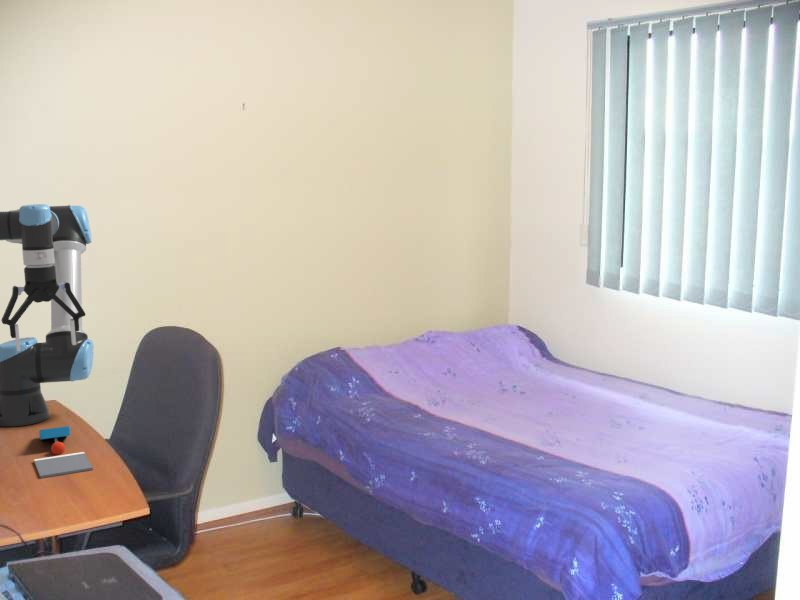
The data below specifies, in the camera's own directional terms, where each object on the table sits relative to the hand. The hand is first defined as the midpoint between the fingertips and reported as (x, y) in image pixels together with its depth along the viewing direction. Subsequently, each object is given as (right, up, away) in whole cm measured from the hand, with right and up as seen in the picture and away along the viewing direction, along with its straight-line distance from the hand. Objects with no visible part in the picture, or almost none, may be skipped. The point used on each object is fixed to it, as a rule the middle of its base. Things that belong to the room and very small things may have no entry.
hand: (46, 347), depth 254 cm
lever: (+1, -27, +5) cm, 27 cm away
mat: (+9, -29, -13) cm, 32 cm away
